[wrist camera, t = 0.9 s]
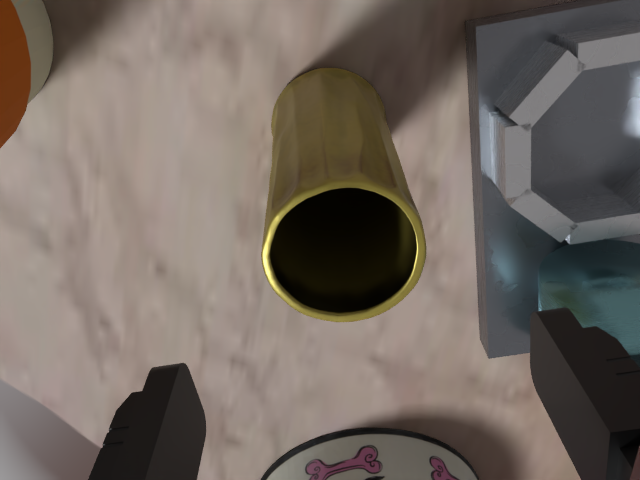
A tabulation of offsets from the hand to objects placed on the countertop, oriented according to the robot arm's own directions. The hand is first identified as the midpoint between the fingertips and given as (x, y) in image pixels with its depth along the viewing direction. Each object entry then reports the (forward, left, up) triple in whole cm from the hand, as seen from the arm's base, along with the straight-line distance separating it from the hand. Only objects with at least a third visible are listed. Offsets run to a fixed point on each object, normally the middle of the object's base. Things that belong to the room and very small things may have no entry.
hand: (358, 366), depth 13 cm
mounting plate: (+6, +13, -19) cm, 24 cm away
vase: (0, 0, -20) cm, 20 cm away
